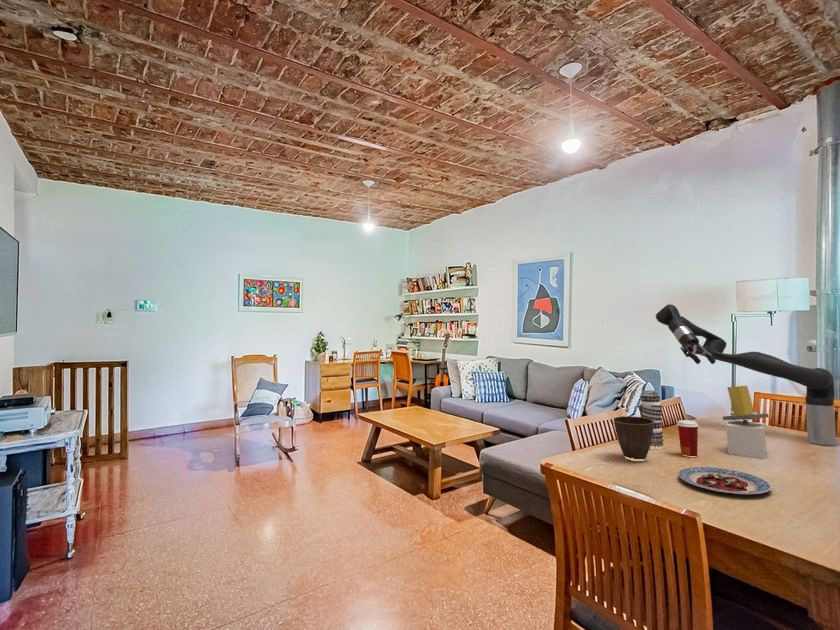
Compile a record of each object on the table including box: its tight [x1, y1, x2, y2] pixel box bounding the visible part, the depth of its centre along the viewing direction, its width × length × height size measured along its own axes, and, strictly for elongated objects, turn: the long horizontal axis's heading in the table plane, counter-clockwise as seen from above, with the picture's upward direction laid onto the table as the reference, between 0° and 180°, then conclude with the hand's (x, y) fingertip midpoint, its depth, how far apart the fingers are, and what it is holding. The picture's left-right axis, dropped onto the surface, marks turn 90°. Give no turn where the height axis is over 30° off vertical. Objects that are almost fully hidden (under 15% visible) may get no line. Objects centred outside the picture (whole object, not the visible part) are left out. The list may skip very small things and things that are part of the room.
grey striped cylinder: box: [639, 389, 664, 447], centre depth 193 cm, size 9×9×25 cm
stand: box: [725, 419, 767, 460], centre depth 180 cm, size 12×12×14 cm
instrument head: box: [722, 385, 770, 421], centre depth 182 cm, size 12×10×14 cm
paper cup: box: [676, 419, 699, 457], centre depth 179 cm, size 8×8×14 cm
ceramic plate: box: [677, 466, 772, 495], centre depth 146 cm, size 26×26×3 cm
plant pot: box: [613, 416, 654, 460], centre depth 176 cm, size 15×15×16 cm
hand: (706, 362), depth 198 cm, fingers open, 8 cm apart
